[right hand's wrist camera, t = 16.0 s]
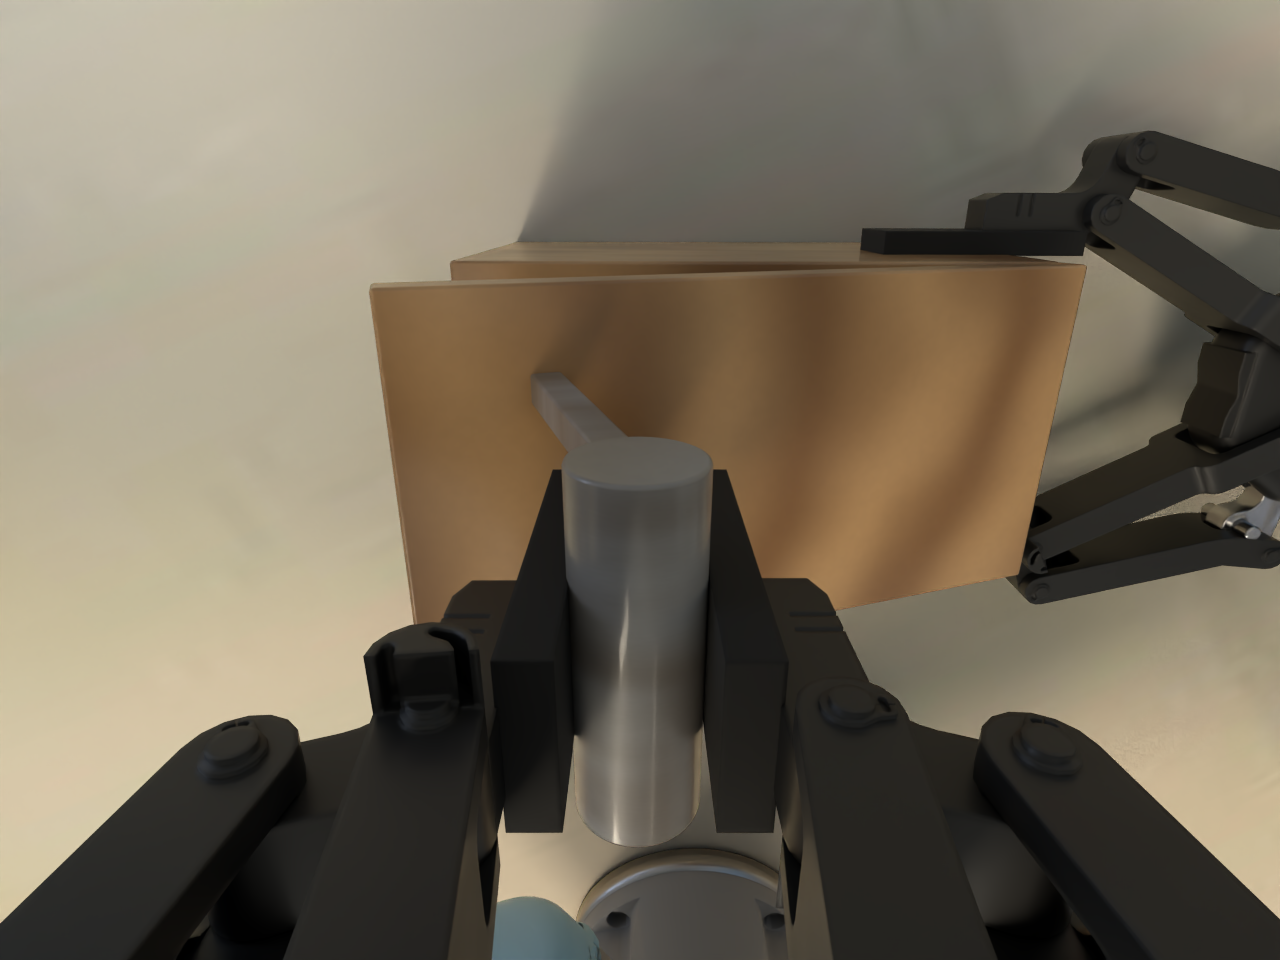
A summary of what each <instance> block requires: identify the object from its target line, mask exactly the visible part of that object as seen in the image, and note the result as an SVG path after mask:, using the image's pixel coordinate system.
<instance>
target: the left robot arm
mask: <svg viewBox="0 0 1280 960" xmlns="http://www.w3.org/2000/svg"><path fill="white" fill-rule="evenodd" d="M1082 166H1083V169H1082V171H1081V172H1080V174H1079V176H1078V178H1077V179H1076V181H1075V182H1074V183H1073V184H1072V185H1071V186H1070V187H1069V188H1068V189H1066V190H1065V191H1062V192H1060V193H989V194H983V195H980V196H978V197H975V198H973V199H970V200H969V204H968V211H967V217H966V223H965V229H908V228H863V229H862V238H861V247H860V250H864V251H869V252H873V253H878V254H883V255H1012V256H1083V252H1084V247H1086V248H1088V249H1090V250H1091V251H1093V252H1094V253H1096V254H1097V255H1099V256H1100V257H1102V258H1103V259H1105V260H1106V261H1108V262H1109V263H1111V264H1112V265H1114V266H1115V267H1117V268H1118V269H1120V270H1121V271H1123V272H1125V273H1126V274H1128V275H1129V276H1131V277H1132V278H1134V279H1135V280H1137V281H1138V282H1140V283H1141V284H1143V285H1144V286H1146V287H1147V288H1149V289H1150V290H1152V291H1153V292H1155V293H1156V294H1158V295H1160V296H1161V297H1163V298H1164V299H1166V300H1167V301H1169V302H1170V303H1172V304H1173V305H1175V306H1176V307H1178V308H1179V309H1181V310H1182V311H1184V312H1185V314H1184V315H1185V317H1187V318H1188V319H1190V320H1191V321H1193V322H1194V323H1196V324H1197V325H1199V326H1200V327H1202V328H1203V329H1205V330H1206V331H1208V332H1209V333H1211V334H1212V335H1214V336H1215V338H1214V339H1213V341H1212V342H1204V343H1203V346H1202V350H1201V353H1200V357H1199V360H1198V379H1197V384H1196V386H1195V388H1194V390H1193V392H1192V393H1191V395H1190V397H1189V399H1188V400H1187V402H1186V405H1185V408H1184V412H1183V415H1182V419H1181V422H1182V423H1181V424H1179V425H1177V426H1175V427H1172V428H1170V429H1168V430H1166V431H1163V432H1161V433H1159V434H1157V435H1155V436H1153V437H1151V439H1150V440H1149V445H1148V446H1147V447H1145V448H1143V449H1140V450H1138V451H1136V452H1134V453H1131V454H1129V455H1127V456H1125V457H1123V458H1120V459H1118V460H1116V461H1114V462H1111V463H1109V464H1107V465H1105V466H1103V467H1100V468H1098V469H1096V470H1094V471H1091V472H1089V473H1087V474H1085V475H1082V476H1080V477H1078V478H1076V479H1074V480H1071V481H1069V482H1067V483H1065V484H1062V485H1060V486H1058V487H1056V488H1054V489H1051V490H1049V491H1047V492H1045V493H1042V494H1040V495H1038V496H1036V498H1035V503H1034V507H1033V512H1032V516H1031V521H1030V525H1029V530H1028V534H1027V539H1026V543H1025V548H1024V552H1023V557H1022V561H1021V566H1020V570H1019V574H1018V575H1014V576H1009V577H1006V579H1007V580H1008V581H1009V582H1010V583H1011V584H1012V585H1013V586H1014V587H1015V588H1016V589H1017V590H1018V591H1019V592H1020V593H1021V594H1022V595H1023V596H1024V597H1025V598H1026V599H1027V600H1028V601H1029V602H1030V603H1033V604H1044V603H1049V602H1053V601H1058V600H1063V599H1067V598H1072V597H1077V596H1081V595H1086V594H1091V593H1095V592H1100V591H1105V590H1109V589H1114V588H1119V587H1124V586H1128V585H1133V584H1138V583H1142V582H1147V581H1152V580H1156V579H1161V578H1166V577H1170V576H1175V575H1180V574H1184V573H1189V572H1194V571H1198V570H1203V569H1208V568H1212V567H1217V566H1222V565H1224V566H1236V567H1248V568H1260V569H1269V568H1273V567H1275V566H1278V565H1279V564H1280V541H1279V540H1277V539H1275V538H1273V537H1271V536H1272V534H1273V532H1274V530H1275V528H1276V525H1277V523H1278V521H1279V519H1280V293H1279V294H1277V295H1273V294H1270V293H1267V292H1265V291H1263V290H1261V289H1259V288H1258V287H1257V286H1255V285H1254V284H1252V283H1251V282H1249V281H1248V280H1246V279H1245V278H1243V277H1242V276H1240V275H1239V274H1237V273H1236V272H1235V271H1233V270H1232V269H1230V268H1229V267H1227V266H1226V265H1224V264H1223V263H1221V262H1220V261H1218V260H1217V259H1215V258H1214V257H1212V256H1211V255H1210V254H1208V253H1207V252H1205V251H1204V250H1202V249H1201V248H1199V247H1198V246H1196V245H1195V244H1193V243H1192V242H1190V241H1189V240H1188V239H1186V238H1185V237H1183V236H1182V235H1180V234H1179V233H1177V232H1176V231H1174V230H1173V229H1171V228H1170V227H1168V226H1167V225H1165V224H1164V223H1163V222H1161V221H1160V220H1158V219H1157V218H1155V217H1154V216H1152V215H1151V214H1149V213H1148V212H1146V211H1145V210H1143V209H1142V208H1141V207H1139V206H1138V205H1136V204H1135V203H1133V202H1132V201H1130V200H1129V198H1130V196H1131V195H1132V193H1133V191H1134V189H1138V190H1141V191H1144V192H1147V193H1151V194H1154V195H1157V196H1160V197H1163V198H1167V199H1170V200H1173V201H1176V202H1180V203H1183V204H1186V205H1189V206H1192V207H1196V208H1199V209H1202V210H1205V211H1209V212H1212V213H1215V214H1218V215H1221V216H1225V217H1228V218H1231V219H1234V220H1238V221H1241V222H1244V223H1247V224H1250V225H1254V226H1258V227H1262V228H1266V229H1276V230H1280V171H1278V170H1275V169H1272V168H1269V167H1266V166H1263V165H1259V164H1256V163H1253V162H1250V161H1247V160H1244V159H1241V158H1238V157H1234V156H1231V155H1228V154H1225V153H1222V152H1219V151H1216V150H1212V149H1209V148H1206V147H1203V146H1200V145H1197V144H1194V143H1190V142H1187V141H1184V140H1181V139H1178V138H1175V137H1172V136H1169V135H1165V134H1162V133H1159V132H1156V131H1143V132H1137V133H1130V134H1123V135H1116V136H1109V137H1103V138H1099V139H1096V140H1094V141H1093V142H1092V143H1090V144H1089V145H1088V146H1087V148H1086V149H1085V151H1084V153H1083V157H1082ZM1240 485H1242V486H1244V487H1245V490H1244V492H1243V493H1242V494H1241V495H1240V496H1239V497H1238V498H1237V499H1235V500H1233V501H1231V502H1226V503H1220V504H1218V505H1215V504H1213V503H1207V504H1205V505H1204V506H1203V507H1202V508H1201V513H1178V514H1173V515H1167V516H1162V517H1158V518H1153V519H1149V520H1144V521H1140V522H1135V523H1132V522H1134V521H1136V520H1139V519H1141V518H1143V517H1146V516H1148V515H1150V514H1153V513H1155V512H1157V511H1160V510H1162V509H1164V508H1167V507H1169V506H1171V505H1174V504H1176V503H1178V502H1180V501H1183V500H1185V499H1187V498H1190V497H1192V496H1194V495H1197V494H1202V493H1207V494H1217V493H1222V492H1226V491H1228V490H1231V489H1233V488H1235V487H1238V486H1240ZM1129 523H1131V524H1129ZM778 877H779V874H778V873H776V872H775V871H773V870H772V869H770V868H769V867H767V866H765V865H763V864H761V863H759V862H757V861H755V860H753V859H750V858H747V857H744V856H741V855H738V854H734V853H730V852H725V851H720V850H712V849H697V848H692V849H676V850H668V851H662V852H657V853H654V854H650V855H646V856H643V857H640V858H637V859H635V860H633V861H630V862H628V863H626V864H624V865H622V866H620V867H618V868H617V869H615V870H613V871H612V872H610V873H609V874H608V875H606V876H605V877H604V878H603V879H601V880H600V881H599V882H598V883H597V884H596V885H595V886H594V887H593V888H592V889H591V891H590V892H589V893H588V894H587V896H586V898H585V899H584V901H583V902H582V905H581V907H580V909H579V912H578V915H577V918H576V921H575V920H574V919H573V918H572V917H571V916H570V915H569V914H567V913H566V912H565V911H564V910H563V909H562V908H561V907H559V906H558V905H557V904H555V903H553V902H551V901H549V900H546V899H543V898H538V897H517V898H512V899H508V900H504V901H501V902H498V903H497V907H496V918H495V929H494V940H493V951H492V960H788V950H787V939H786V928H785V917H784V909H783V908H776V898H777V888H778Z"/></svg>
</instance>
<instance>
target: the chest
mask: <svg viewBox="0 0 1280 960" xmlns="http://www.w3.org/2000/svg"><path fill="white" fill-rule="evenodd" d="M860 247H861V242H515V243H512V244H509V245H505V246H502V247H499V248H495V249H492V250H488V251H485V252H481V253H478V254H474V255H471V256H467V257H464V258H460V259H457V260H453V261H451V262H450V269H451V280H452V281H461V280H494V279H527V278H560V277H593V276H626V275H659V274H692V273H725V272H758V271H791V270H824V269H857V268H890V267H923V266H956V265H989V264H1022V263H1055V261H1048V260H1041V259H1034V258H1027V257H1020V256H1012V255H883V254H878V253H873V252H869V251H864V250H860Z"/></svg>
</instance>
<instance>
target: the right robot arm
mask: <svg viewBox="0 0 1280 960" xmlns="http://www.w3.org/2000/svg"><path fill="white" fill-rule="evenodd" d="M363 657H364V663H365V669H366V675H367V681H368V687H369V692H370V698H371V704H372V710H373V716H372V719H371V721H370V723H369V724H367V725H365V726H363V727H360V728H358V729H354V730H351V731H347V732H344V733H340V734H336V735H331V736H327V737H322V738H318V739H313V740H309V741H304V742H300V738H299V733H298V729H297V728H296V727H295V726H294V725H293V724H292V723H291V722H290V721H289V720H288V719H284V718H280V717H277V716H273V715H256V716H246V717H242V718H238V719H234V720H231V721H227V722H224V723H222V724H220V725H218V726H216V727H213V728H211V729H209V730H207V731H205V732H203V733H201V734H199V735H198V736H197V737H196V738H194V739H193V740H192V741H190V742H189V743H188V744H186V745H185V746H184V747H182V748H181V749H180V750H179V751H178V752H177V753H176V754H175V755H174V756H173V757H172V758H171V759H170V760H169V761H168V762H166V763H165V764H164V765H163V766H162V767H161V768H160V769H159V770H158V771H157V772H156V773H155V774H154V775H153V776H152V777H151V778H150V779H149V780H148V781H147V782H146V783H145V784H144V785H143V786H142V787H141V788H140V789H139V790H138V791H137V792H136V793H134V794H133V795H132V796H131V797H130V798H129V799H128V800H127V801H126V802H125V803H124V804H123V805H122V806H121V807H120V808H119V809H118V810H117V811H116V812H115V813H114V814H113V815H112V816H111V817H110V818H109V819H108V820H107V821H106V822H105V823H104V824H103V825H101V826H100V827H99V828H98V829H97V830H96V831H95V832H94V833H93V834H92V835H91V836H90V837H89V838H88V839H87V840H86V841H85V842H84V843H83V844H82V845H81V846H80V847H79V848H78V849H77V850H76V851H75V852H74V853H73V854H72V855H71V856H69V857H68V858H67V859H66V860H65V861H64V862H63V863H62V864H61V865H60V866H59V867H58V868H57V869H56V870H55V871H54V872H53V873H52V874H51V875H50V876H49V877H48V878H47V879H46V880H45V881H44V882H43V883H42V884H41V885H40V886H39V887H37V888H36V889H35V890H34V891H33V892H32V893H31V894H30V895H29V896H28V897H27V898H26V899H25V900H24V901H23V902H22V903H21V904H20V905H19V906H18V907H17V908H16V909H15V910H14V911H13V912H12V913H11V914H10V915H9V916H8V917H7V918H5V919H4V920H3V921H2V922H1V923H0V960H492V951H493V940H494V929H495V918H496V907H497V896H498V885H499V874H500V857H499V847H498V837H497V833H498V828H499V824H500V819H501V815H502V811H503V808H504V819H505V829H506V833H563V825H564V817H565V809H566V800H567V792H568V784H569V776H570V768H571V759H572V751H573V743H574V735H575V734H574V710H573V686H572V663H571V639H570V615H569V591H568V581H567V579H566V562H565V539H564V515H563V491H562V469H553V470H552V473H551V476H550V479H549V482H548V485H547V488H546V492H545V495H544V498H543V501H542V504H541V507H540V510H539V513H538V516H537V519H536V522H535V525H534V528H533V531H532V534H531V537H530V541H529V544H528V547H527V550H526V553H525V556H524V559H523V562H522V565H521V568H520V571H519V574H518V577H517V580H472V581H471V582H469V583H468V584H467V585H466V586H464V587H463V588H462V589H461V590H459V591H458V592H457V593H456V594H454V595H453V596H452V598H451V600H450V602H449V604H448V606H447V609H446V611H445V613H444V618H442V619H441V621H440V622H428V623H421V624H415V625H409V626H407V627H404V628H401V629H398V630H396V631H393V632H390V633H388V634H387V635H385V636H384V637H382V638H381V639H379V640H378V641H376V642H375V643H373V645H372V646H371V647H370V648H369V650H368V651H367V652H366V654H365V655H364V656H363ZM703 724H704V733H705V741H706V749H707V757H708V765H709V774H710V782H711V790H712V798H713V807H714V815H715V823H716V831H717V833H773V832H774V821H775V810H776V806H777V811H778V815H779V819H780V824H781V828H782V833H783V837H782V847H781V857H780V867H779V877H778V888H777V898H776V908H783V909H784V917H785V928H786V939H787V950H788V960H1280V919H1279V918H1278V917H1277V916H1276V915H1275V914H1274V913H1273V912H1272V911H1271V910H1270V909H1269V908H1268V907H1267V906H1265V905H1264V904H1263V903H1262V902H1261V901H1260V900H1259V899H1258V898H1257V897H1256V896H1255V895H1254V894H1253V893H1252V892H1251V891H1250V890H1249V889H1248V888H1247V887H1246V886H1245V885H1244V884H1243V883H1242V882H1241V881H1240V880H1238V879H1237V878H1236V877H1235V876H1234V875H1233V874H1232V873H1231V872H1230V871H1229V870H1228V869H1227V868H1226V867H1225V866H1224V865H1223V864H1222V863H1221V862H1220V861H1219V860H1218V859H1217V858H1216V857H1215V856H1214V855H1212V854H1211V853H1210V852H1209V851H1208V850H1207V849H1206V848H1205V847H1204V846H1203V845H1202V844H1201V843H1200V842H1199V841H1198V840H1197V839H1196V838H1195V837H1194V836H1193V835H1192V834H1191V833H1190V832H1189V831H1188V830H1187V829H1185V828H1184V827H1183V826H1182V825H1181V824H1180V823H1179V822H1178V821H1177V820H1176V819H1175V818H1174V817H1173V816H1172V815H1171V814H1170V813H1169V812H1168V811H1167V810H1166V809H1165V808H1164V807H1163V806H1162V805H1161V804H1159V803H1158V802H1157V801H1156V800H1155V799H1154V798H1153V797H1152V796H1151V795H1150V794H1149V793H1148V792H1147V791H1146V790H1145V789H1144V788H1143V787H1142V786H1141V785H1140V784H1139V783H1138V782H1137V781H1136V780H1135V779H1133V778H1132V777H1131V776H1130V775H1129V774H1128V773H1127V772H1126V771H1125V770H1124V769H1123V768H1122V767H1121V766H1120V765H1119V764H1118V763H1117V762H1116V761H1115V760H1114V759H1113V758H1112V757H1111V756H1110V755H1109V754H1108V753H1106V752H1105V751H1104V750H1103V749H1102V748H1101V747H1100V746H1099V745H1098V744H1097V743H1095V742H1094V741H1093V740H1091V739H1090V738H1089V737H1087V736H1086V735H1085V734H1083V733H1082V732H1081V731H1079V730H1077V729H1075V728H1073V727H1071V726H1069V725H1067V724H1065V723H1062V722H1060V721H1058V720H1056V719H1053V718H1049V717H1046V716H1041V715H1038V714H1034V713H1025V712H1007V713H1003V714H999V715H996V716H992V717H991V718H990V719H989V720H988V721H987V722H986V723H985V724H984V725H983V726H982V729H981V734H980V738H979V739H975V738H970V737H966V736H961V735H956V734H952V733H947V732H943V731H938V730H935V729H932V728H928V727H925V726H921V725H919V724H917V723H914V722H912V721H910V720H909V718H908V715H907V713H906V711H905V710H904V708H903V707H902V705H901V704H900V702H899V701H898V699H897V698H895V697H894V696H893V695H891V694H890V693H889V692H887V691H886V690H885V689H883V688H882V687H879V686H877V685H875V684H872V683H870V682H869V680H868V678H867V676H866V674H865V672H864V670H863V668H862V666H861V664H860V661H859V659H858V657H857V655H856V653H855V651H854V649H853V647H852V645H851V643H850V641H849V639H848V636H847V634H846V632H845V631H843V626H842V624H841V622H840V620H839V618H838V616H836V611H835V609H834V607H833V605H832V603H831V601H830V599H829V597H828V595H827V593H825V592H824V591H823V590H822V589H820V588H819V587H818V586H816V585H815V584H814V583H813V582H811V581H810V580H809V579H808V578H762V577H761V574H760V571H759V567H758V564H757V561H756V558H755V555H754V552H753V549H752V546H751V543H750V540H749V537H748V534H747V531H746V528H745V525H744V521H743V518H742V515H741V512H740V509H739V506H738V503H737V500H736V497H735V494H734V491H733V488H732V485H731V482H730V478H729V475H728V472H727V469H713V488H712V512H711V536H710V560H709V584H708V609H707V633H706V657H705V681H704V706H703Z"/></svg>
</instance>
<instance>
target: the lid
mask: <svg viewBox="0 0 1280 960" xmlns="http://www.w3.org/2000/svg"><path fill="white" fill-rule="evenodd" d="M1086 269H1087V267H1086V266H1085V265H1081V264H1070V263H1058V262H1055V263H1022V264H989V265H956V266H923V267H890V268H857V269H824V270H791V271H758V272H725V273H692V274H659V275H626V276H593V277H560V278H527V279H494V280H461V281H428V282H395V283H373V284H371V286H370V290H369V295H370V302H371V309H372V317H373V324H374V332H375V339H376V347H377V354H378V361H379V369H380V376H381V384H382V391H383V398H384V406H385V413H386V421H387V428H388V436H389V443H390V450H391V458H392V465H393V473H394V480H395V487H396V495H397V502H398V510H399V517H400V524H401V532H402V539H403V547H404V554H405V562H406V569H407V576H408V584H409V591H410V599H411V606H412V613H413V621H414V625H415V624H421V623H428V622H440V621H441V619H442V618H444V613H445V611H446V609H447V606H448V604H449V602H450V600H451V598H452V596H453V595H454V594H456V593H457V592H458V591H459V590H461V589H462V588H463V587H464V586H466V585H467V584H468V583H469V582H471V581H472V580H517V577H518V574H519V571H520V568H521V565H522V562H523V559H524V556H525V553H526V550H527V547H528V544H529V541H530V537H531V534H532V531H533V528H534V525H535V522H536V519H537V516H538V513H539V510H540V507H541V504H542V501H543V498H544V495H545V492H546V488H547V485H548V482H549V479H550V476H551V473H552V470H553V469H562V491H563V515H564V539H565V562H566V579H567V581H568V591H569V615H570V639H571V663H572V686H573V710H574V734H575V735H574V743H573V752H574V776H575V799H576V806H577V810H578V813H579V815H580V817H581V819H582V820H583V822H584V823H585V824H586V826H587V827H588V828H589V829H590V830H591V831H592V832H593V833H594V834H596V835H597V836H599V837H600V838H602V839H604V840H606V841H608V842H611V843H613V844H616V845H621V846H626V847H649V846H654V845H658V844H661V843H664V842H667V841H669V840H671V839H673V838H674V837H676V836H678V835H679V834H680V833H682V832H683V831H684V830H685V829H686V828H687V827H688V826H689V824H690V823H691V822H692V820H693V818H694V817H695V815H696V813H697V810H698V807H699V800H700V778H701V754H702V730H703V706H704V681H705V657H706V633H707V609H708V584H709V560H710V536H711V512H712V488H713V469H727V472H728V475H729V478H730V482H731V485H732V488H733V491H734V494H735V497H736V500H737V503H738V506H739V509H740V512H741V515H742V518H743V521H744V525H745V528H746V531H747V534H748V537H749V540H750V543H751V546H752V549H753V552H754V555H755V558H756V561H757V564H758V567H759V571H760V574H761V577H762V578H808V579H809V580H810V581H811V582H813V583H814V584H815V585H816V586H818V587H819V588H820V589H822V590H823V591H824V592H825V593H827V595H828V597H829V599H830V601H831V603H832V605H833V607H834V609H835V611H836V610H841V609H846V608H851V607H856V606H861V605H866V604H871V603H877V602H882V601H887V600H892V599H897V598H902V597H907V596H912V595H917V594H922V593H927V592H933V591H938V590H943V589H948V588H953V587H958V586H963V585H968V584H973V583H978V582H983V581H988V580H994V579H999V578H1004V577H1009V576H1014V575H1018V574H1019V570H1020V566H1021V561H1022V557H1023V552H1024V548H1025V543H1026V539H1027V534H1028V530H1029V525H1030V521H1031V516H1032V512H1033V507H1034V503H1035V498H1036V494H1037V489H1038V485H1039V480H1040V476H1041V471H1042V467H1043V462H1044V458H1045V453H1046V449H1047V444H1048V440H1049V435H1050V431H1051V426H1052V422H1053V417H1054V413H1055V408H1056V404H1057V399H1058V395H1059V390H1060V386H1061V381H1062V377H1063V372H1064V368H1065V363H1066V359H1067V354H1068V350H1069V345H1070V341H1071V336H1072V332H1073V327H1074V323H1075V318H1076V314H1077V309H1078V305H1079V300H1080V296H1081V291H1082V287H1083V282H1084V278H1085V273H1086Z"/></svg>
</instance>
